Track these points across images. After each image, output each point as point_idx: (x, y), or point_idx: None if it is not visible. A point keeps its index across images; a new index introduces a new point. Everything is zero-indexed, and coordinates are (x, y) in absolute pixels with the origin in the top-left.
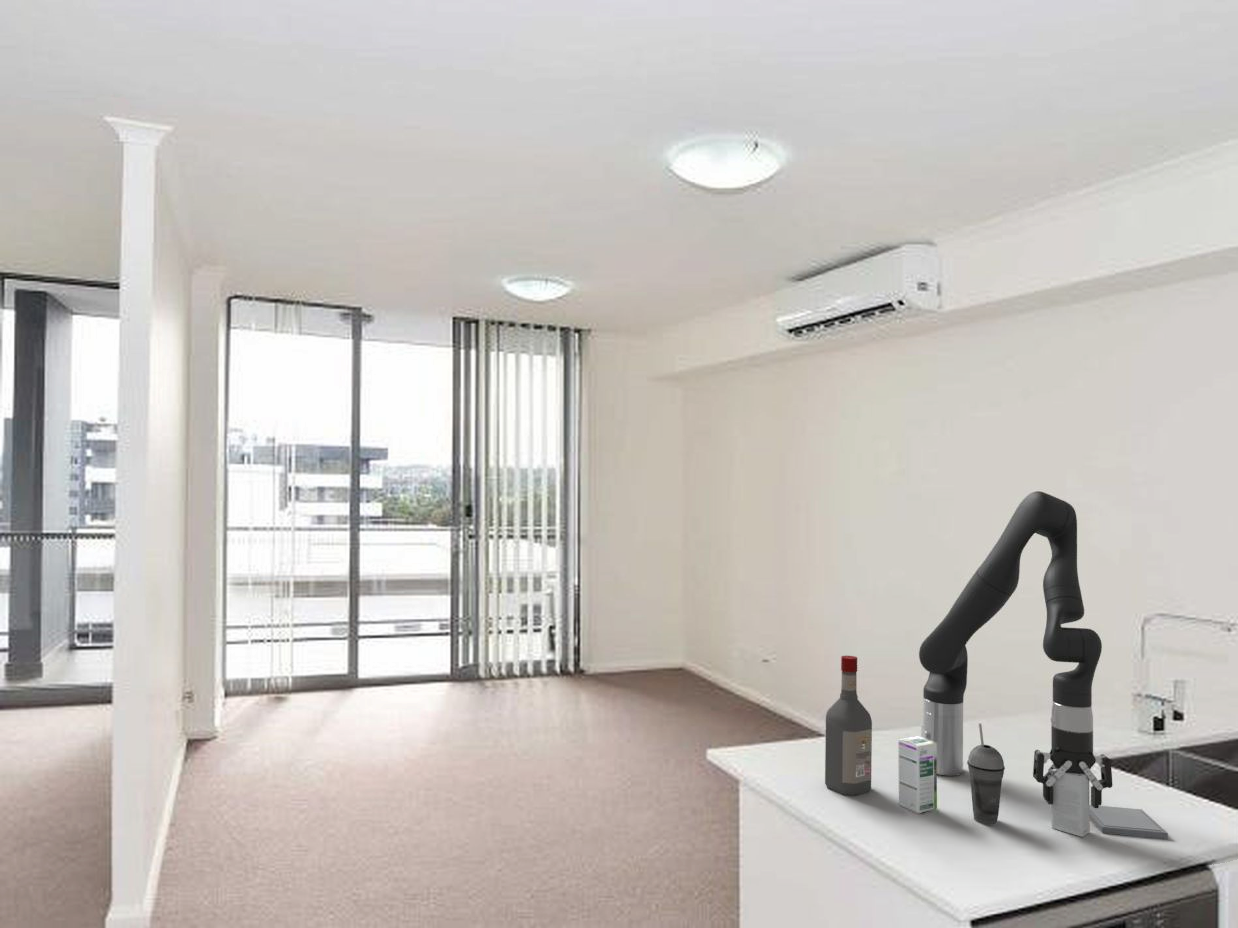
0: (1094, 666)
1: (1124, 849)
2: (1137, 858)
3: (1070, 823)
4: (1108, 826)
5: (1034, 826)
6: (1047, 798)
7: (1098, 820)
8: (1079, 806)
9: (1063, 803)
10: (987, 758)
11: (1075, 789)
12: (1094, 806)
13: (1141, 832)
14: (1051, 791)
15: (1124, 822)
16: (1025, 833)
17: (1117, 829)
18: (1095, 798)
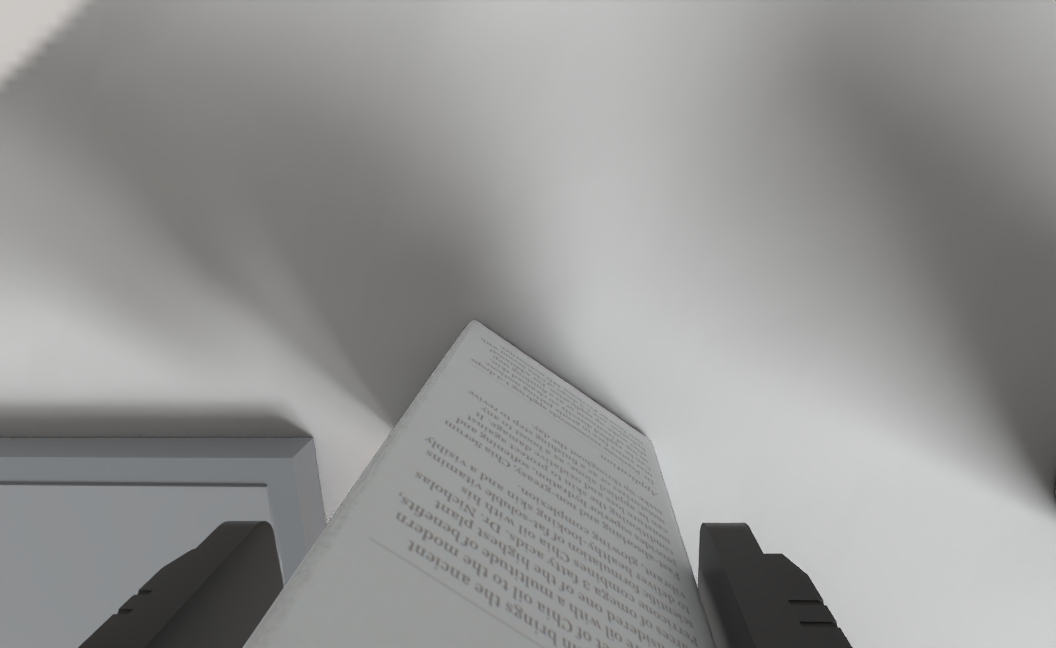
0: None
1: (223, 173)
2: (162, 15)
3: (540, 391)
4: (247, 476)
5: (776, 440)
6: (778, 577)
7: (293, 567)
8: (438, 427)
9: (594, 518)
10: None
11: (428, 602)
12: (262, 534)
13: (52, 450)
14: (777, 638)
15: (126, 564)
16: (910, 285)
17: (196, 451)
18: (192, 586)
